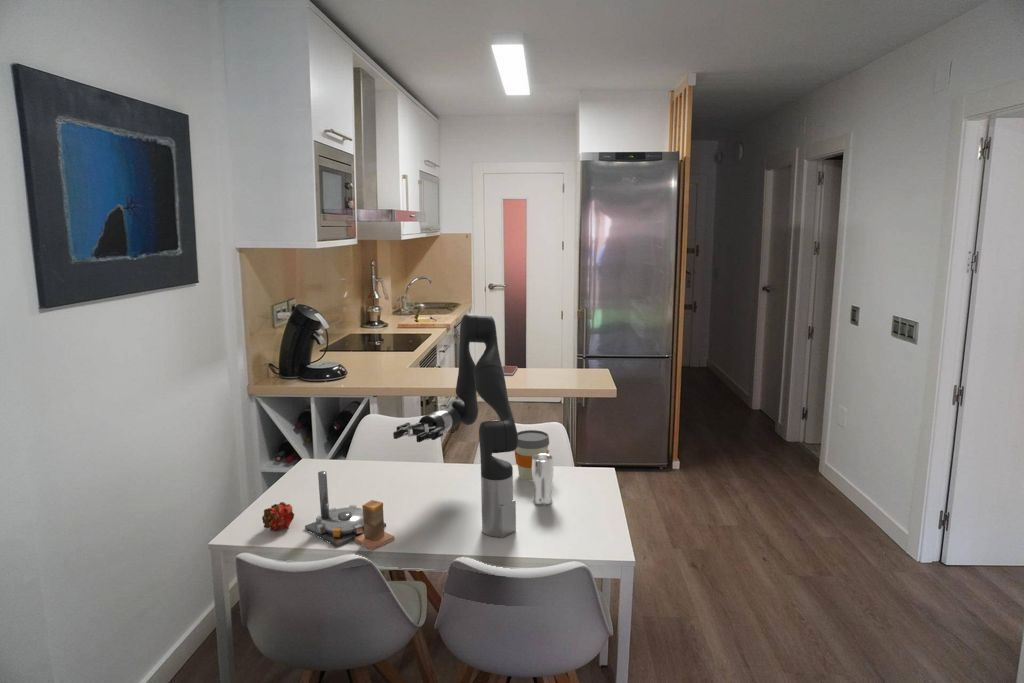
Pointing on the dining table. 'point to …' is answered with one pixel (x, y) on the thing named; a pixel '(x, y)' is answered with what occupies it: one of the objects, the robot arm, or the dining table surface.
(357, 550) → the dining table surface
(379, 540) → the salmon brown square slab
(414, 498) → the dining table surface
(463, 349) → the robot arm
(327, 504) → the sprocket
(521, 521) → the dining table surface
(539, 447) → the reusable coffee cup
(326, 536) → the sprocket base
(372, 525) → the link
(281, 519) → the dragon fruit
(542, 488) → the silver metal cylinder
